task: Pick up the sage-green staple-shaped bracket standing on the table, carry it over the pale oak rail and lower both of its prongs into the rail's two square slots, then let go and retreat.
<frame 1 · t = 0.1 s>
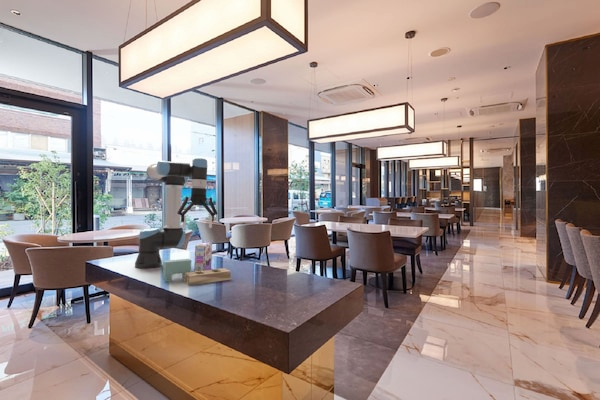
hand: (197, 228, 156), 28 cm above the table, fingers open, 13 cm apart
candy box: (203, 271, 178), on the table
clip: (176, 279, 158), on the table
rail: (207, 280, 158), on the table
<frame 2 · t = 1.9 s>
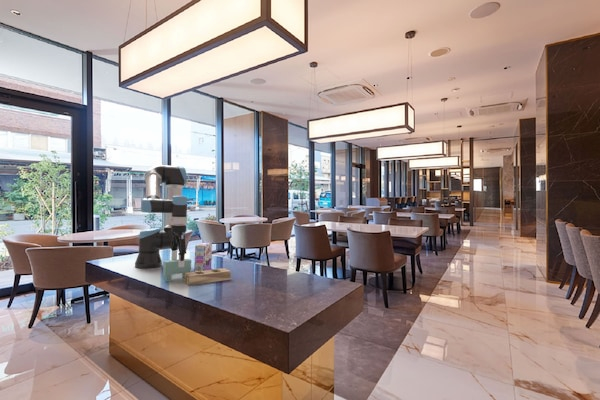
hand: (177, 264, 158), 8 cm above the table, fingers open, 13 cm apart
nothing on the table moved.
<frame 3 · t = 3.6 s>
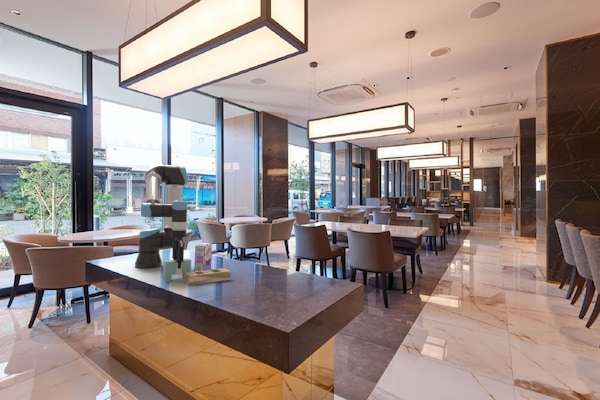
hand: (177, 273, 158), 3 cm above the table, fingers closed on clip, 4 cm apart
clip: (176, 279, 158), on the table, touching gripper
everything else where it was.
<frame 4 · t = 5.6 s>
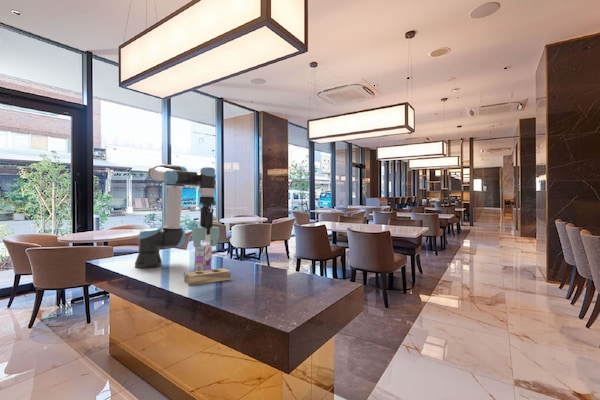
hand: (205, 240, 158), 21 cm above the table, fingers closed on clip, 4 cm apart
clip: (205, 246, 158), point 18 cm above the table, touching gripper
everything else where it was.
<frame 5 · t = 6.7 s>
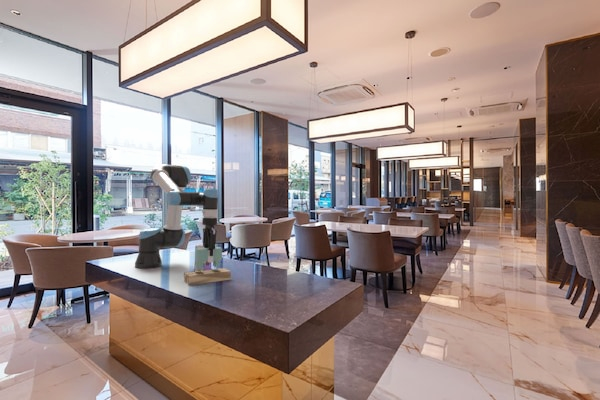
hand: (208, 261, 158), 10 cm above the table, fingers closed on clip, 4 cm apart
clip: (208, 267, 158), point 7 cm above the table, touching gripper
everything else where it was.
when the fingers open (6 cm above the table, at t = 7.8 s): clip drops 2 cm, resting on rail.
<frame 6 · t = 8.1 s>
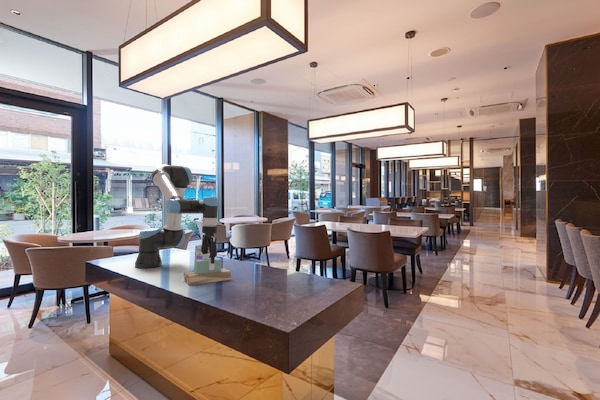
hand: (208, 267, 158), 7 cm above the table, fingers open, 9 cm apart
clip: (207, 278, 158), point 1 cm above the table, touching rail
everything else where it was.
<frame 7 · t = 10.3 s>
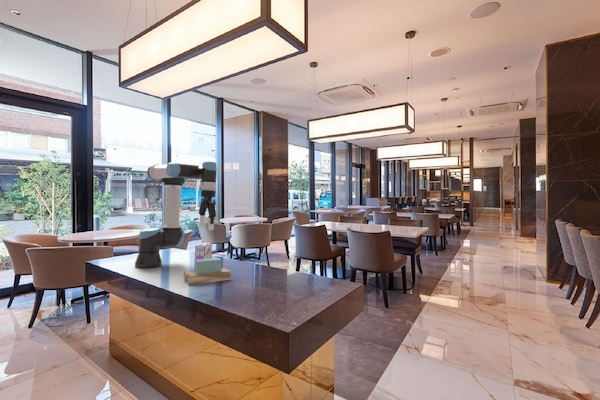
hand: (206, 228, 163), 27 cm above the table, fingers open, 13 cm apart
nothing on the table moved.
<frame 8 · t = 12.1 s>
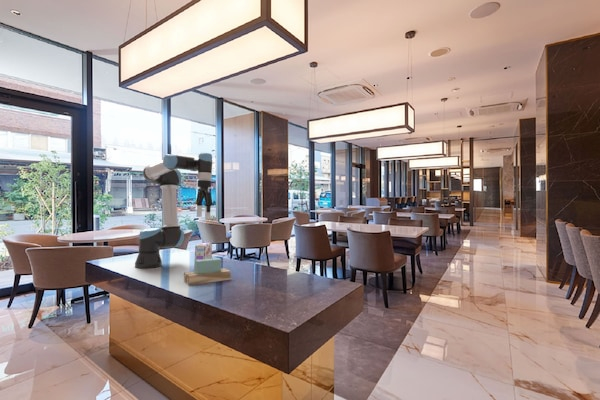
hand: (203, 217, 169), 33 cm above the table, fingers open, 13 cm apart
nothing on the table moved.
at the end: clip 0.1 cm off-centre on the rail, point 1.0 cm above the rail's base; clip tilted 0°; the gripper is holding nothing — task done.
